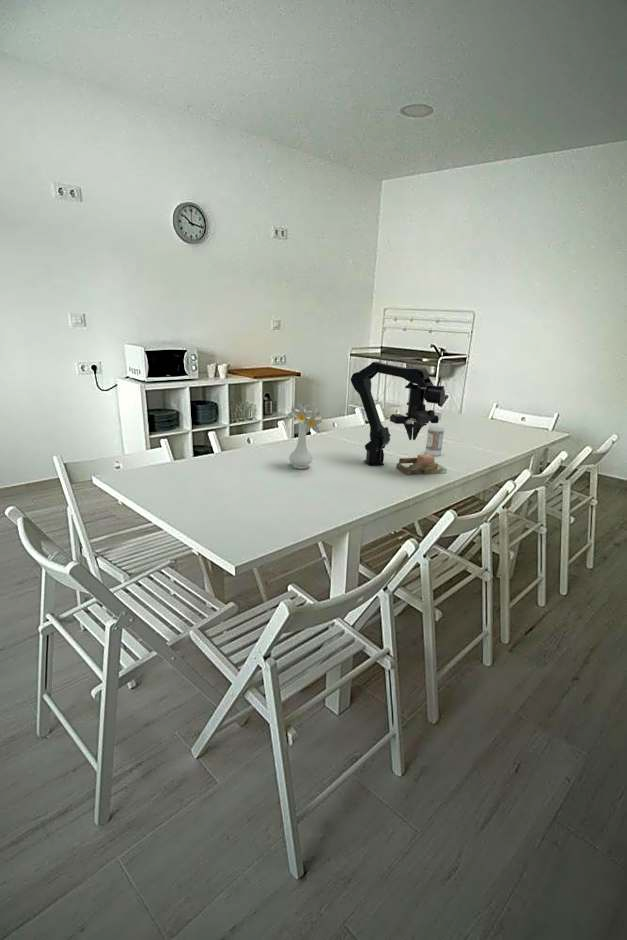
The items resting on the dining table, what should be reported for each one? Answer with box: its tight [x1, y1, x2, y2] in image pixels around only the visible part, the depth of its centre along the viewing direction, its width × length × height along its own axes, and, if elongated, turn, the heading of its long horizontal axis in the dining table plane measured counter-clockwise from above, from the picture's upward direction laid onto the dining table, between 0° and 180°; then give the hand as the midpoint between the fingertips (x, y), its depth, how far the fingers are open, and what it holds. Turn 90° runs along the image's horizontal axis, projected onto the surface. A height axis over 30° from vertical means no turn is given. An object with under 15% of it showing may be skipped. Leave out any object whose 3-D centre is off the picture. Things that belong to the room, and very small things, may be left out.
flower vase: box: [285, 402, 323, 470], centre depth 191 cm, size 13×18×25 cm
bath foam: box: [425, 410, 445, 457], centre depth 220 cm, size 7×7×20 cm
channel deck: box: [396, 457, 448, 476], centre depth 197 cm, size 18×10×4 cm, turn 107°
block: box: [416, 453, 436, 464], centre depth 197 cm, size 5×5×4 cm
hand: (412, 440), depth 192 cm, fingers closed
